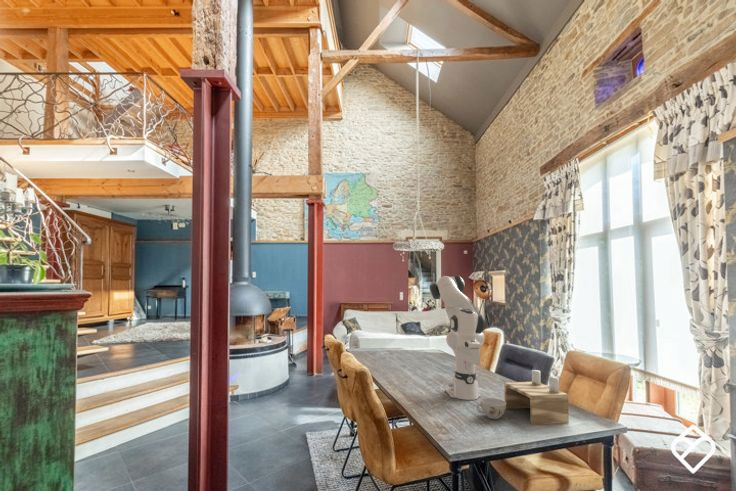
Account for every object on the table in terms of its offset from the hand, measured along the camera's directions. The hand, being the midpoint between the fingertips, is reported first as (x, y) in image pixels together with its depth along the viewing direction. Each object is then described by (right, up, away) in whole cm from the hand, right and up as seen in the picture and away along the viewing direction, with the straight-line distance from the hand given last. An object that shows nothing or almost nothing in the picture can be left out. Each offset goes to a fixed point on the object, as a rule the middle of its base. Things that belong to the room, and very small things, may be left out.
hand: (467, 369), depth 191 cm
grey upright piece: (+44, -11, +1) cm, 46 cm away
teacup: (+12, -24, 0) cm, 27 cm away
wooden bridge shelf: (+37, -25, +6) cm, 45 cm away
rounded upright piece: (+41, -13, +15) cm, 46 cm away
